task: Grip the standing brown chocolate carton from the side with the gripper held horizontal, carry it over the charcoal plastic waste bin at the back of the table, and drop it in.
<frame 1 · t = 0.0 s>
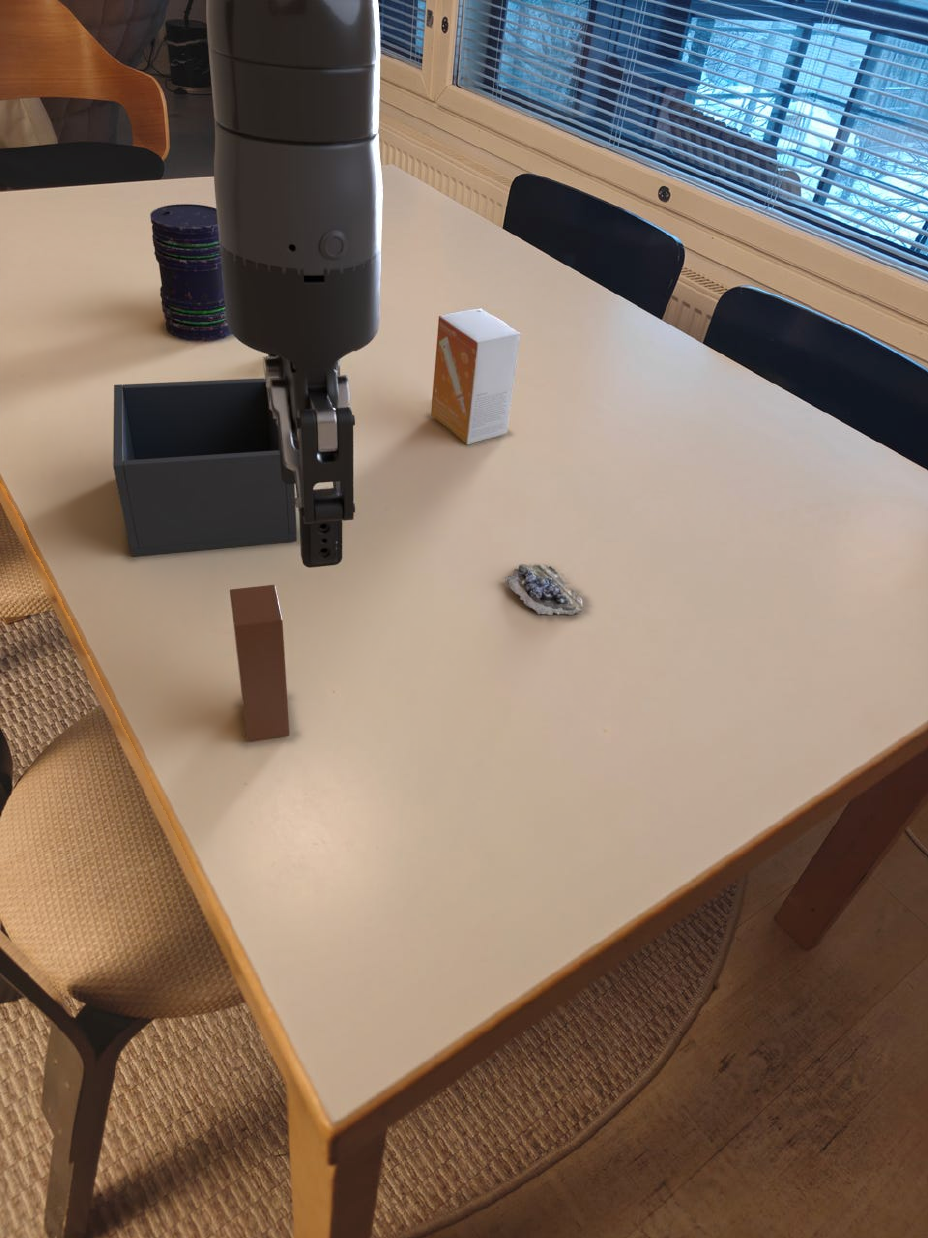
hand: (309, 519, 51), 22 cm above the table, tool pointing down, fingers open, 8 cm apart
waste bin: (210, 504, 89), on the table
navy striped cylinder: (201, 328, 122), on the table
grey flat lumpy piece: (546, 594, 83), on the table
burger: (328, 282, 139), on the table
small box: (468, 426, 107), on the table
polyhedron: (316, 348, 120), on the table
chocolate carton: (265, 720, 68), on the table
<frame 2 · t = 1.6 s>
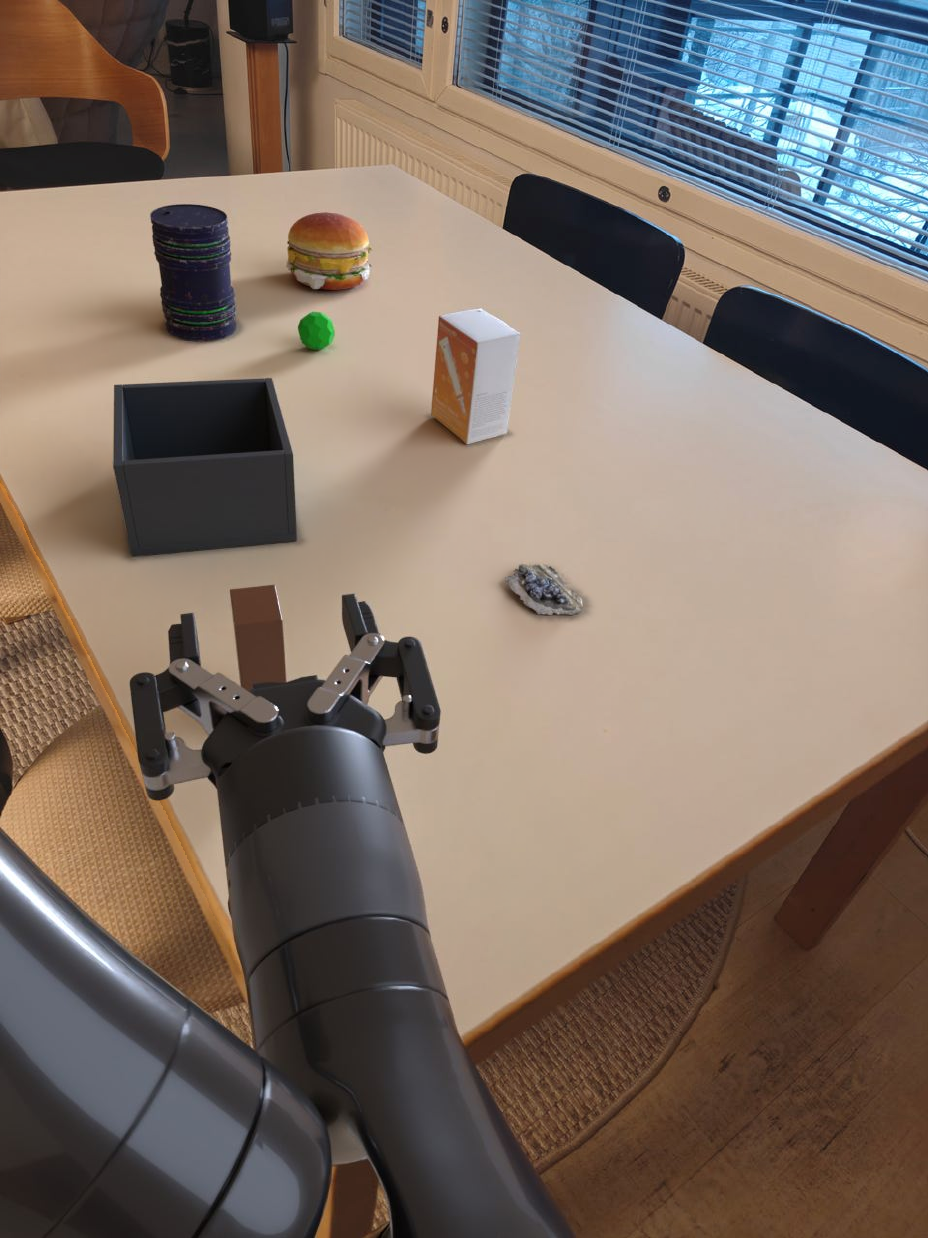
hand: (270, 615, 47), 20 cm above the table, tool horizontal, fingers open, 8 cm apart
nothing on the table moved.
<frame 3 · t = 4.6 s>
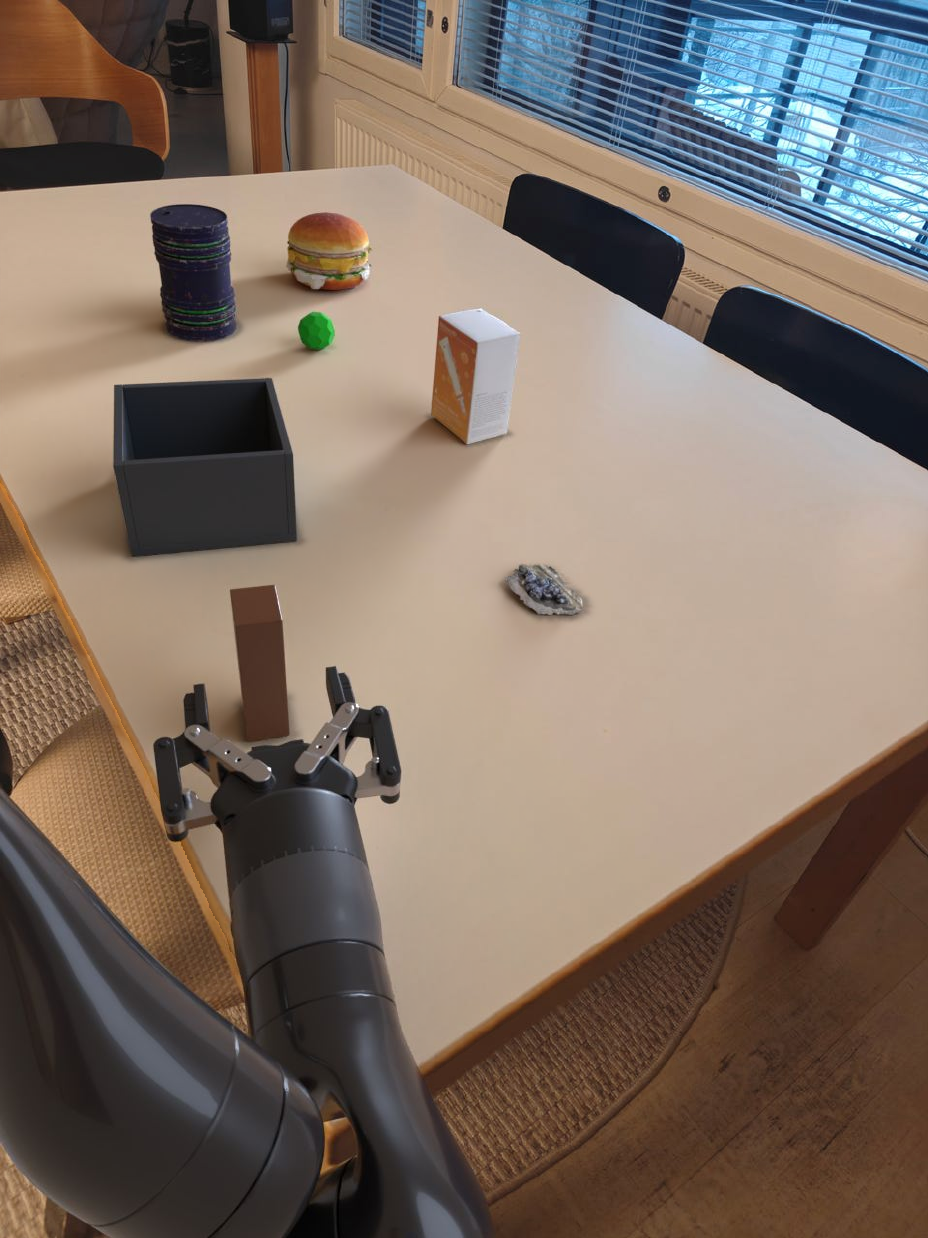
hand: (266, 683, 57), 10 cm above the table, tool horizontal, fingers open, 8 cm apart
nothing on the table moved.
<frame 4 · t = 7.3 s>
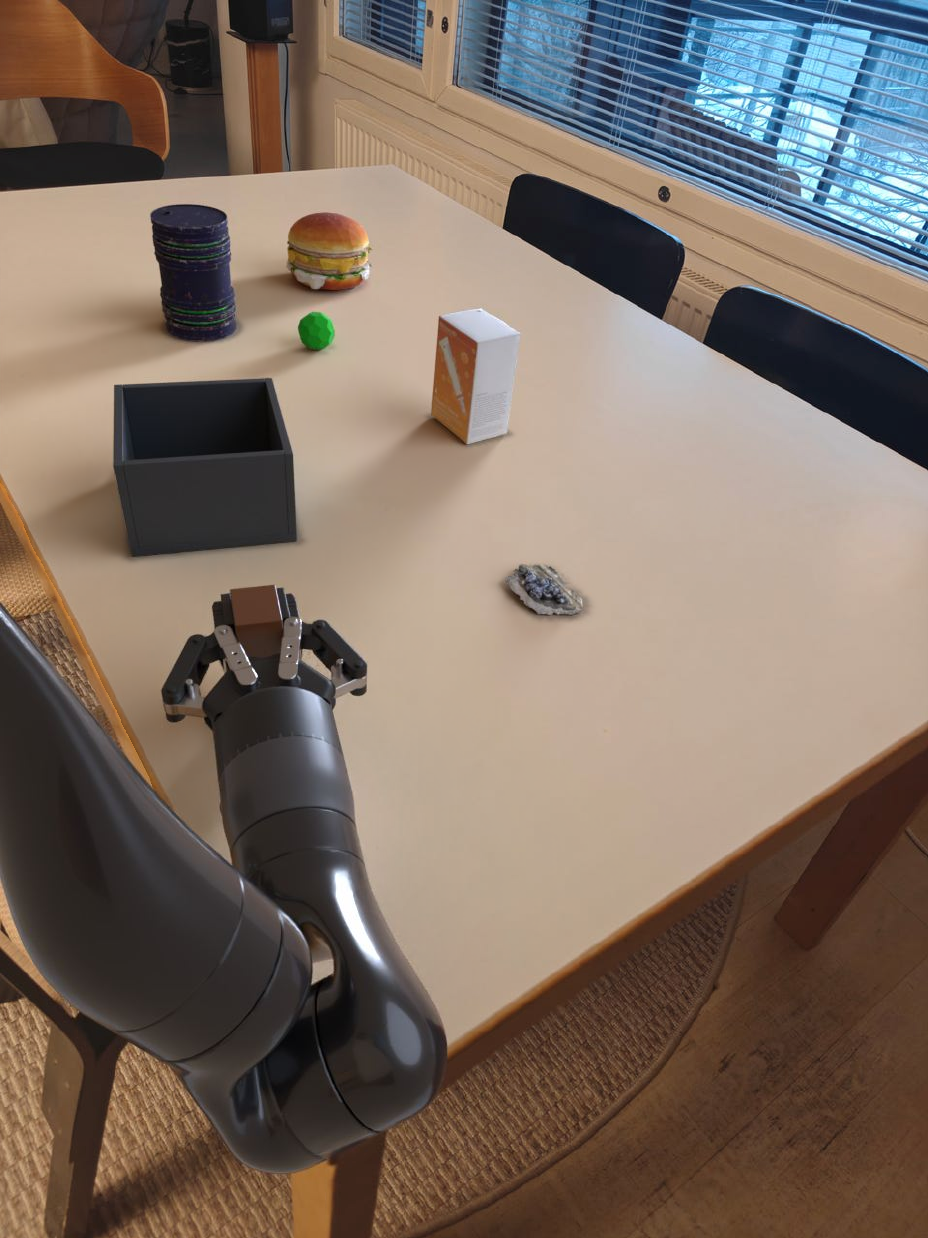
hand: (252, 600, 63), 10 cm above the table, tool horizontal, fingers closed on chocolate carton, 3 cm apart
chocolate carton: (265, 720, 68), on the table, touching gripper
everything else where it was.
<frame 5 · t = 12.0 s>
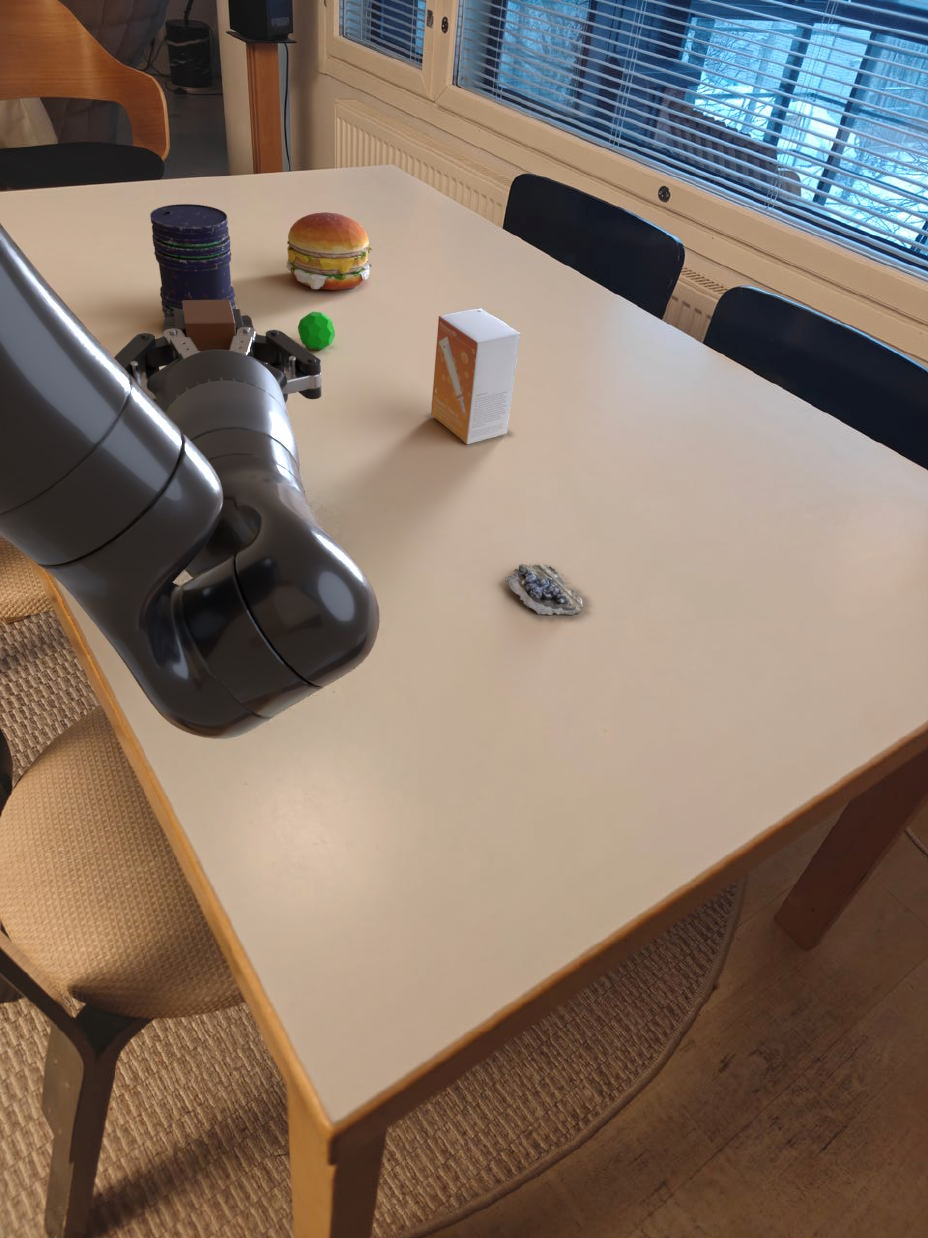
hand: (207, 322, 61), 26 cm above the table, tool horizontal, fingers closed on chocolate carton, 3 cm apart
chocolate carton: (223, 465, 66), point 16 cm above the table, touching gripper
everything else where it was.
when the fingers open (19 cm above the table, at t = 17.0 s): chocolate carton drops 8 cm, resting on waste bin.
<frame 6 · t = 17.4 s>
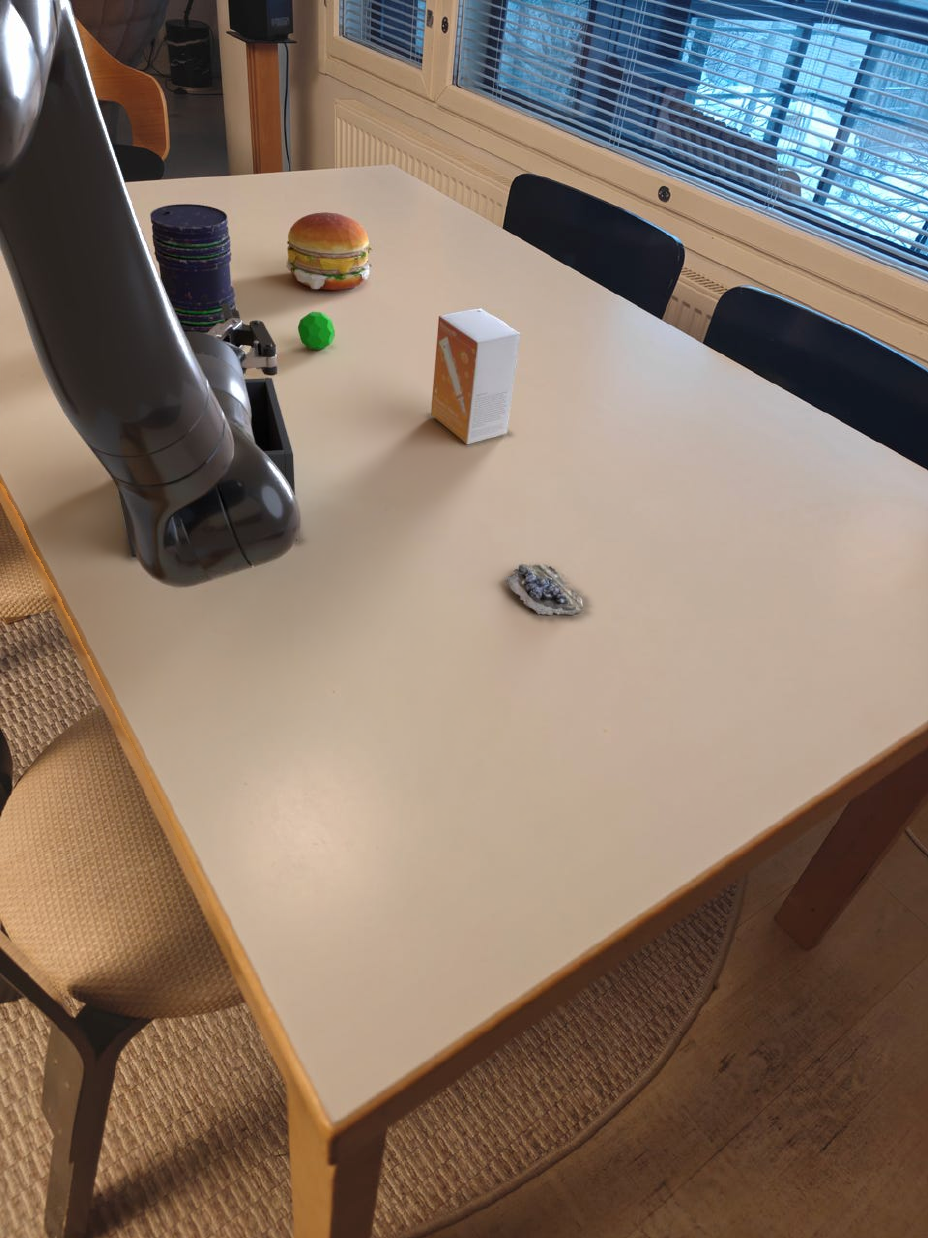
hand: (187, 315, 78), 19 cm above the table, tool horizontal, fingers open, 6 cm apart
chocolate carton: (209, 496, 88), point 1 cm above the table, touching waste bin
everything else where it was.
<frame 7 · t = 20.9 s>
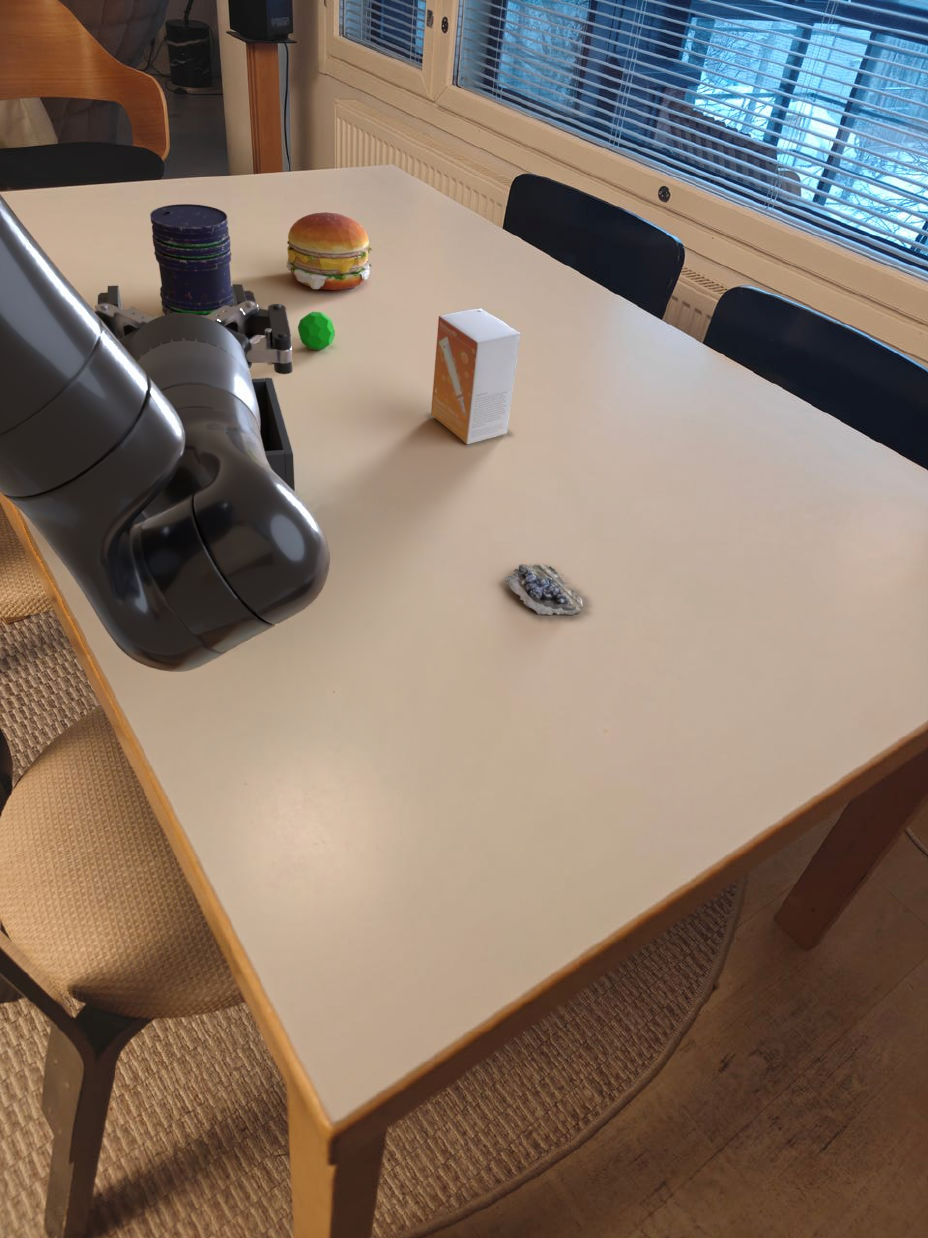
hand: (177, 297, 63), 27 cm above the table, tool horizontal, fingers open, 8 cm apart
nothing on the table moved.
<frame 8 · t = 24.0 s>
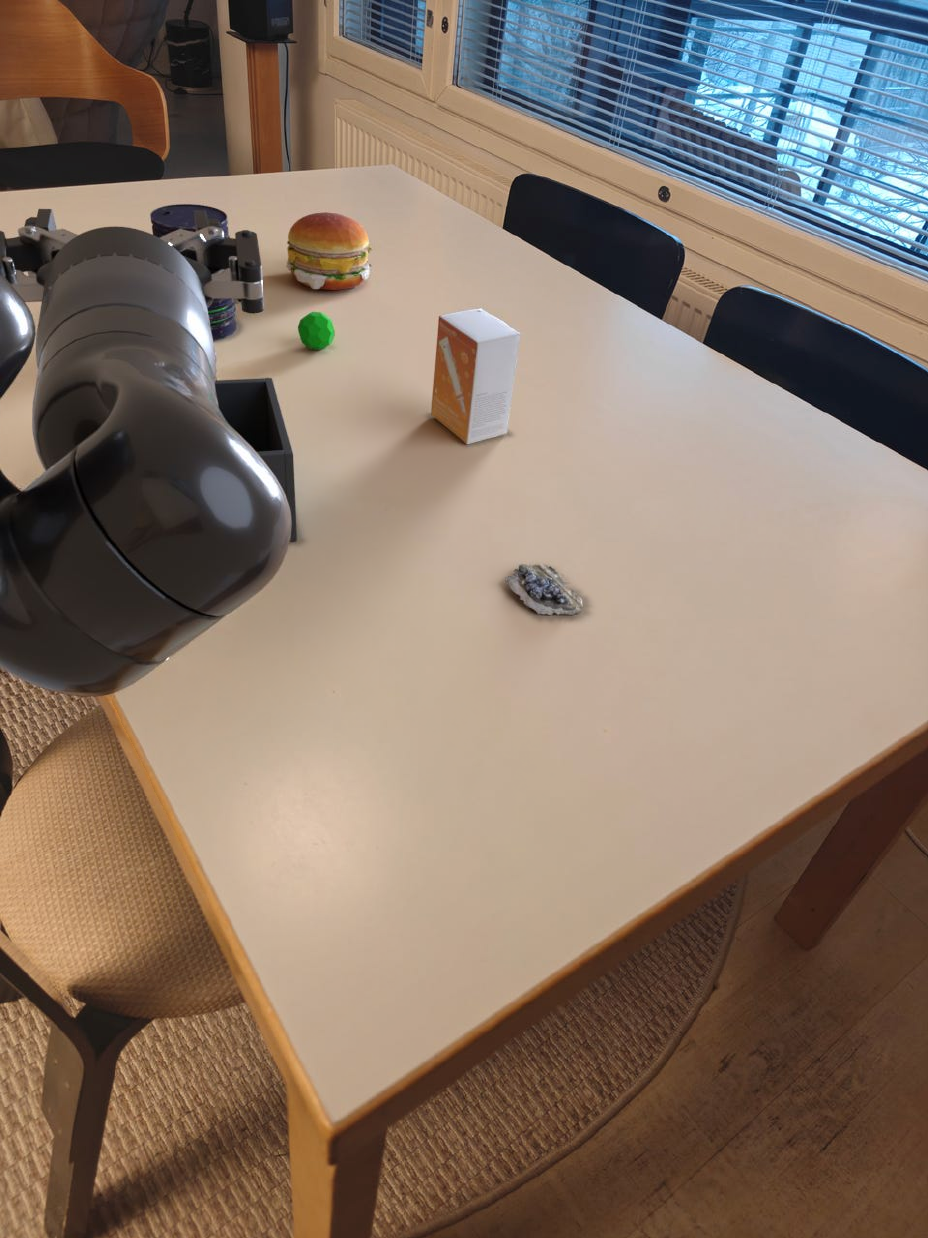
hand: (126, 226, 51), 34 cm above the table, tool horizontal, fingers open, 8 cm apart
nothing on the table moved.
at the end: chocolate carton inside the target area in the waste bin (0.0 cm from its centre), point 1.0 cm above the waste bin's base; the gripper is holding nothing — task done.
